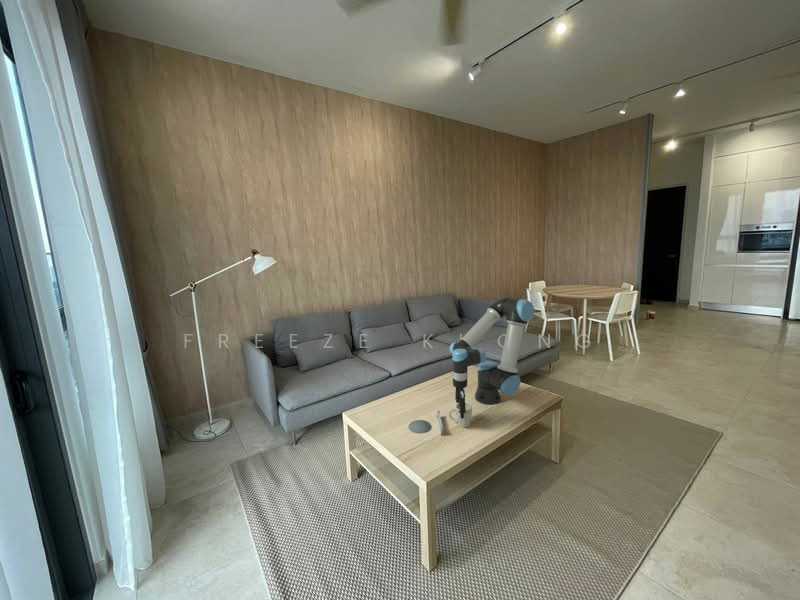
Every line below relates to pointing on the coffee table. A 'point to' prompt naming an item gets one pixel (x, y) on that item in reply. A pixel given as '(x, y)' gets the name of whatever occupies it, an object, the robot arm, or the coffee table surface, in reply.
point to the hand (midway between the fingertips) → (460, 418)
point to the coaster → (419, 426)
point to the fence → (440, 423)
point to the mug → (467, 414)
